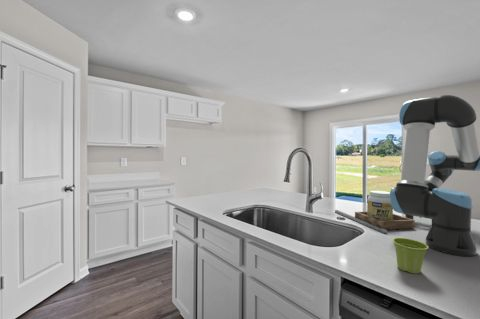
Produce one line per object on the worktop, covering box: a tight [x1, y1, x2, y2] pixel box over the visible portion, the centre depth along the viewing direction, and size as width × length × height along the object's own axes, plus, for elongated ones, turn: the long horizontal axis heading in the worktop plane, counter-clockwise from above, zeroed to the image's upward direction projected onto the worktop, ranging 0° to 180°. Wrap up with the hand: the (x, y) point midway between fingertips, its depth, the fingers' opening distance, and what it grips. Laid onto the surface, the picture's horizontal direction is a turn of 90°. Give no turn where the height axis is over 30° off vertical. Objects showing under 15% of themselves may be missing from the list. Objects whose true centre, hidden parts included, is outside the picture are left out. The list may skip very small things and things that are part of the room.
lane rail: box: [334, 209, 388, 235], centre depth 130 cm, size 40×1×2 cm, turn 11°
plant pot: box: [392, 237, 430, 274], centre depth 76 cm, size 9×9×9 cm
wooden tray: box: [354, 211, 416, 231], centre depth 127 cm, size 19×28×12 cm
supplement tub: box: [366, 190, 394, 221], centre depth 128 cm, size 12×12×17 cm
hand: (407, 213), depth 129 cm, fingers open, 13 cm apart
